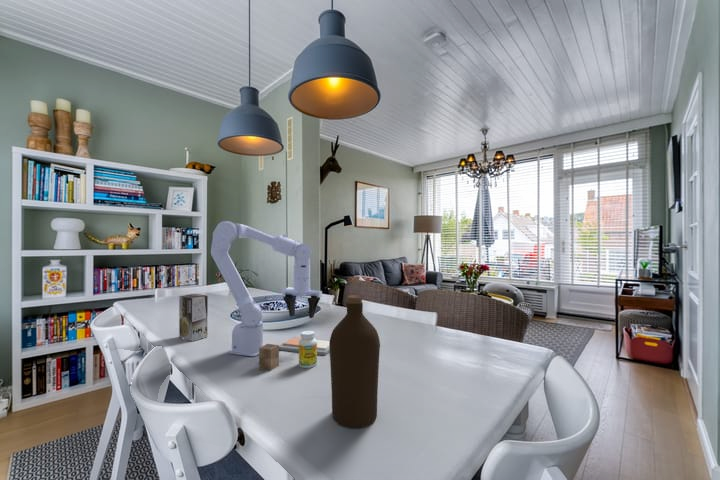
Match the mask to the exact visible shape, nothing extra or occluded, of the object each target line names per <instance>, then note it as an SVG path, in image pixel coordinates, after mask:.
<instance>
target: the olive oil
mask: <svg viewBox="0 0 720 480" xmlns="http://www.w3.org/2000/svg"><path fill="white" fill-rule="evenodd" d="M346 299H347V302H346V315H345V316H344V317H343V318H342V319H341V320H340V321H339V322H338V324H337V325H336V326H335V327H333V329H332V332H331V334H330V338H329V341H330V343H329V347H330V352H329V362H330V378H331V379H330V385H331V386H330V387H331V415H332V419H333V421H334V422H335V423H336V424H337V425H339V426H340V427H341V426H342V427H344V428H347V429H348V428H350V429H361V428H365V427H368V426H370V425H371V424H373V422H375V421H376V419H377V416H378V394H379V393H378V391H379V367H380V353H381V352H380V351H381V350H380V348H381V341H380V336H379V333H378V331H377V329H376V328H375V326H374V325H373V324H372V323H371V322H370V320H369V319H368V318H366V316H365V315H364V314H363V311H364V310H363V309H364V307H363V305H364V303H363V296H361V295H357V294H356V295H354V294H352V295H347V297H346Z"/></svg>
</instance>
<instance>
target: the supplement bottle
mask: <svg viewBox="0 0 720 480" xmlns="http://www.w3.org/2000/svg"><path fill="white" fill-rule="evenodd" d="M315 333H316V332H315V331H314V330H305V331H301V333H300V338H302V339H301V340H300V341H299V352H298V365H299V366H298V367H300V368H303V369H310V368H311V369H312V368H314V367H315V366H316V365H317V364H318V354H317V340H318V339H316V338H315V336H316V334H315Z"/></svg>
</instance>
